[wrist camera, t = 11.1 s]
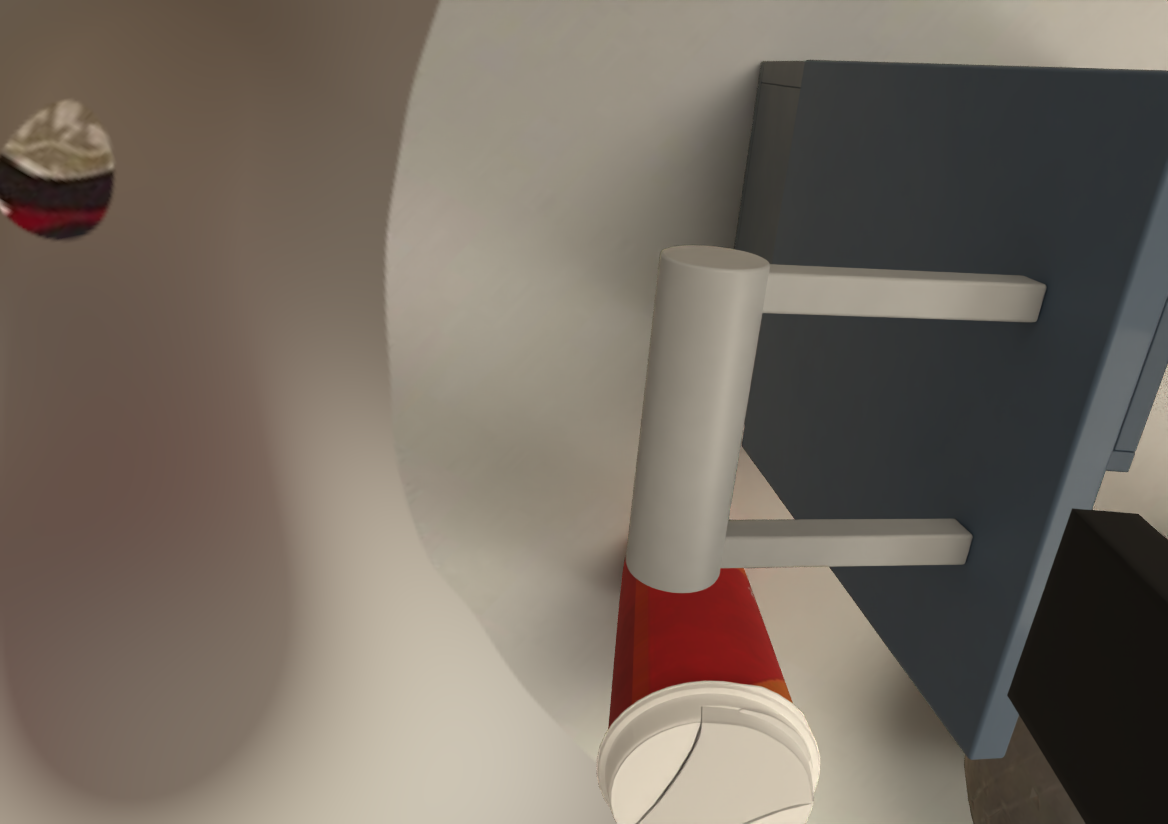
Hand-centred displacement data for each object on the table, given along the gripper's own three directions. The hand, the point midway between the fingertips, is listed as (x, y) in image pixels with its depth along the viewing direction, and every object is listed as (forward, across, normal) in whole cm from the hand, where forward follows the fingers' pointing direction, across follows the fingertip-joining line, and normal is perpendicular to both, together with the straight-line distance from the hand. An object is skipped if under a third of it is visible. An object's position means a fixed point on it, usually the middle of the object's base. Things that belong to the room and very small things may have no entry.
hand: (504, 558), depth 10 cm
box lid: (+11, +8, 0) cm, 14 cm away
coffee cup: (+29, +6, -18) cm, 35 cm away
